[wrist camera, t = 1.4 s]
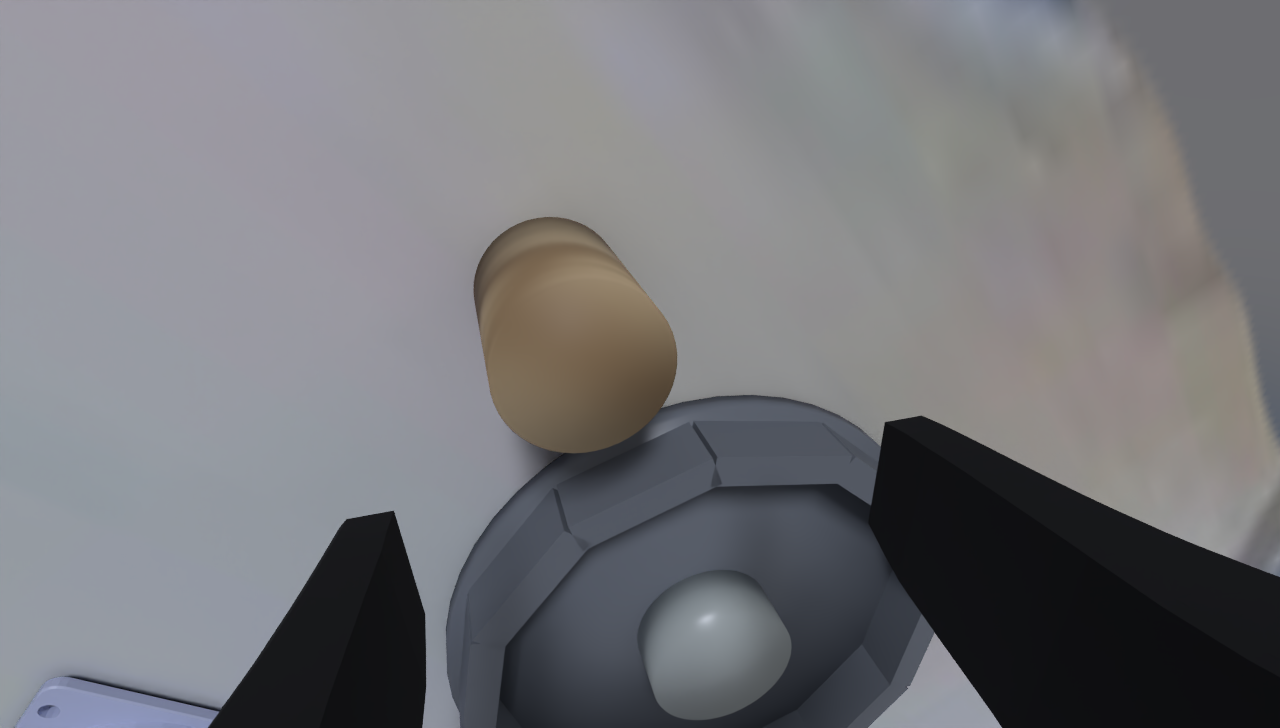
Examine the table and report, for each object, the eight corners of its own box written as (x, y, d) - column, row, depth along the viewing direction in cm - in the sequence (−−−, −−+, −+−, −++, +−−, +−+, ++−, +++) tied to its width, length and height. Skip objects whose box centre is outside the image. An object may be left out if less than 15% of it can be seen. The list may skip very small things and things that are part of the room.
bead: (563, 380, 20) (601, 480, 16) (443, 309, 18) (449, 400, 14) (648, 271, 19) (713, 345, 15) (532, 185, 17) (568, 242, 13)
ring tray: (708, 802, 32) (732, 867, 29) (339, 709, 23) (329, 789, 21) (988, 523, 28) (1040, 570, 26) (674, 291, 20) (709, 329, 17)
